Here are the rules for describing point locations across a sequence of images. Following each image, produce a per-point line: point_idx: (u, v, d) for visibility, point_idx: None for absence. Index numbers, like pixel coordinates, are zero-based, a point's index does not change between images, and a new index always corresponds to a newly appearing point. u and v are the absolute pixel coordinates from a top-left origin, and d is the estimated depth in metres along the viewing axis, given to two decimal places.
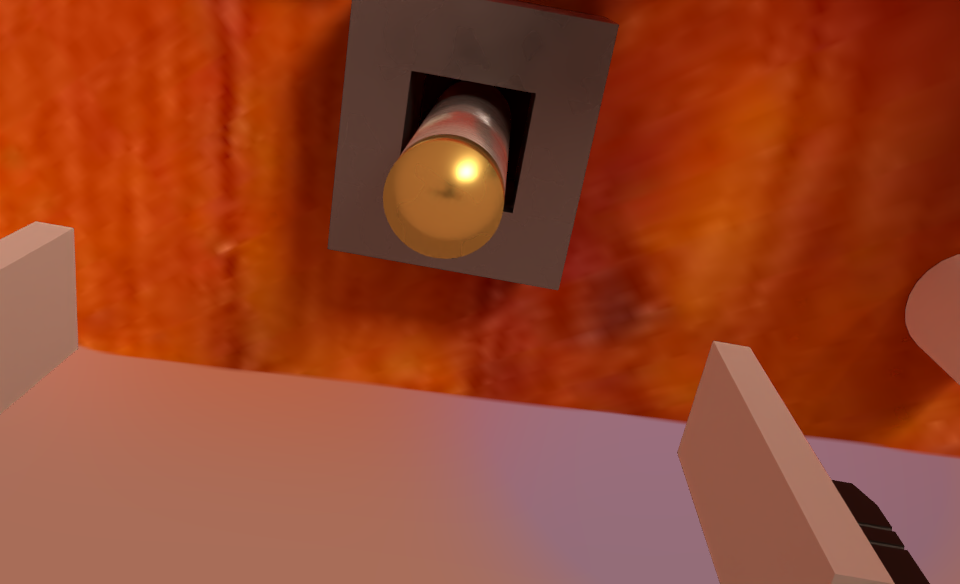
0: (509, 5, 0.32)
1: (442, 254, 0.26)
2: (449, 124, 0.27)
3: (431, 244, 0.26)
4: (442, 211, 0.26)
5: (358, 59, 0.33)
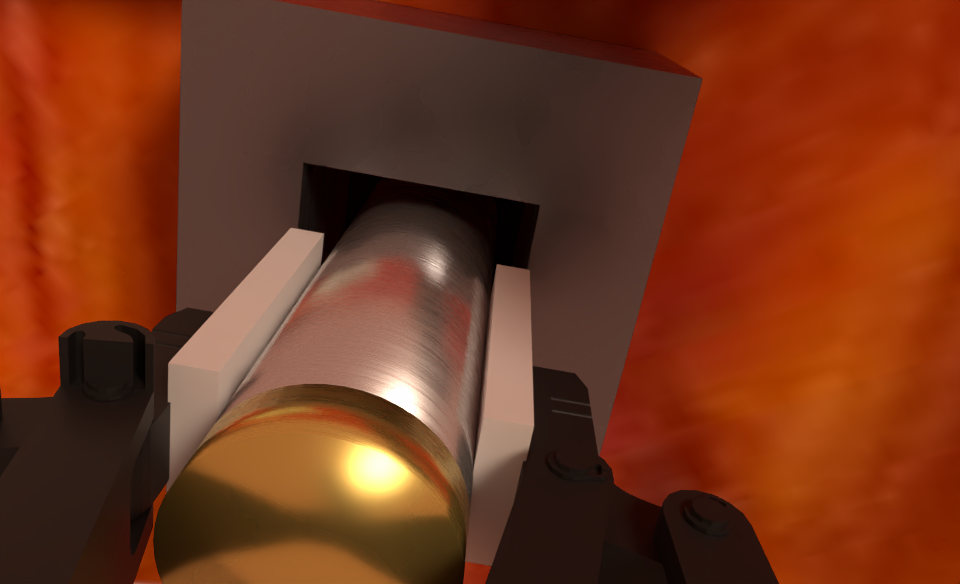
0: (488, 41, 0.16)
1: None
2: (343, 328, 0.12)
3: None
4: None
5: (202, 141, 0.17)
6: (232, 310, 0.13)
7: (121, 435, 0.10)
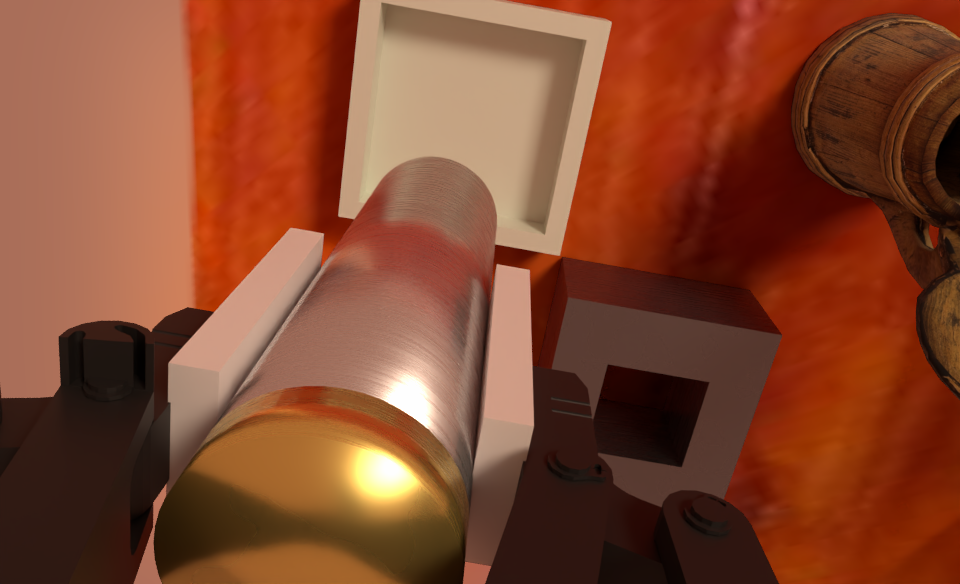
0: (693, 319, 0.39)
1: None
2: (343, 330, 0.12)
3: None
4: None
5: (564, 355, 0.40)
6: (232, 310, 0.13)
7: (121, 435, 0.10)
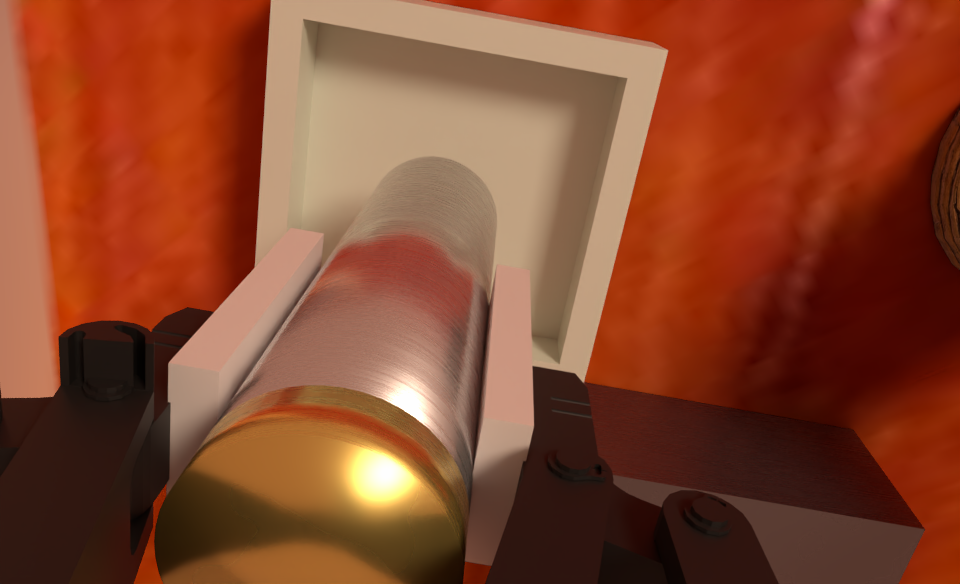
0: (788, 505, 0.25)
1: None
2: (343, 330, 0.12)
3: None
4: None
5: None
6: (232, 310, 0.13)
7: (121, 435, 0.10)
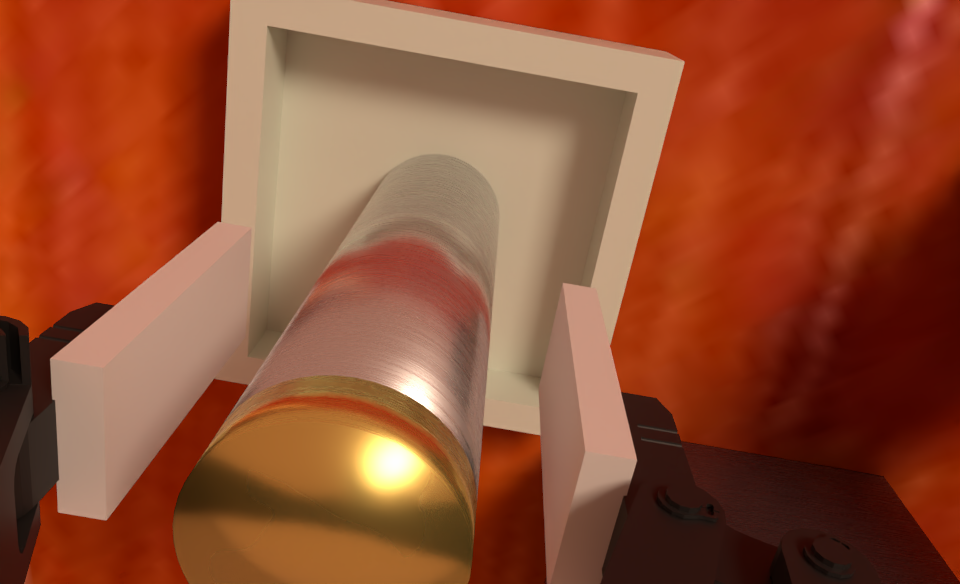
0: None
1: None
2: (354, 322, 0.12)
3: None
4: (321, 570, 0.10)
5: None
6: (133, 305, 0.13)
7: (0, 430, 0.09)
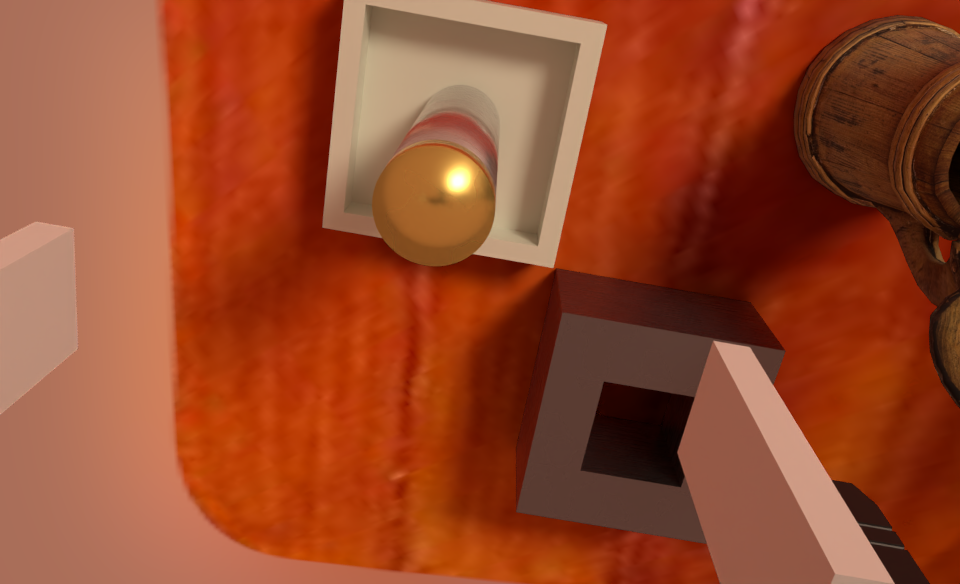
0: (692, 335, 0.37)
1: (433, 261, 0.26)
2: (438, 129, 0.27)
3: (421, 251, 0.26)
4: (432, 218, 0.25)
5: (559, 372, 0.38)
6: None
7: None
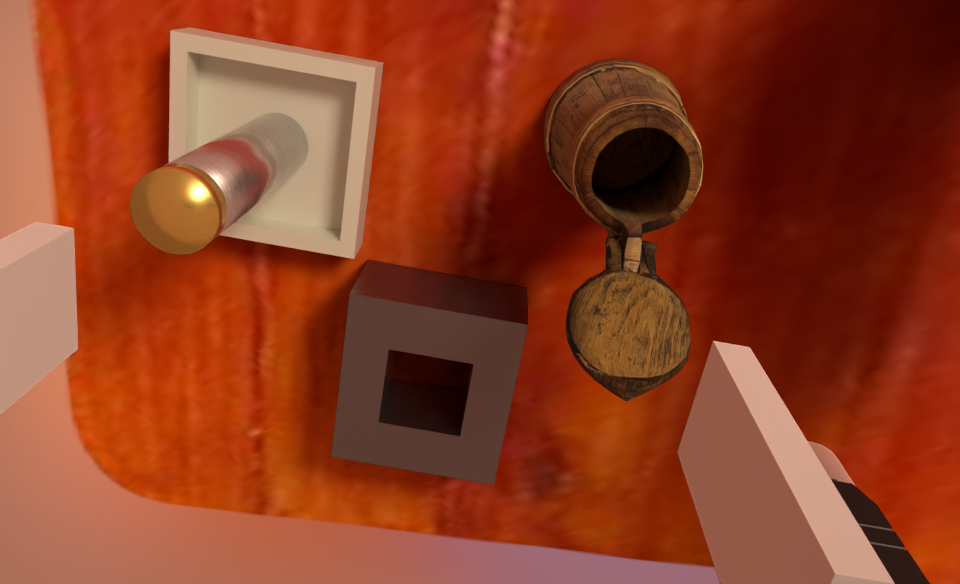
0: (454, 311, 0.47)
1: (179, 251, 0.36)
2: (192, 154, 0.37)
3: (169, 244, 0.35)
4: (174, 219, 0.35)
5: (352, 342, 0.48)
6: None
7: None
